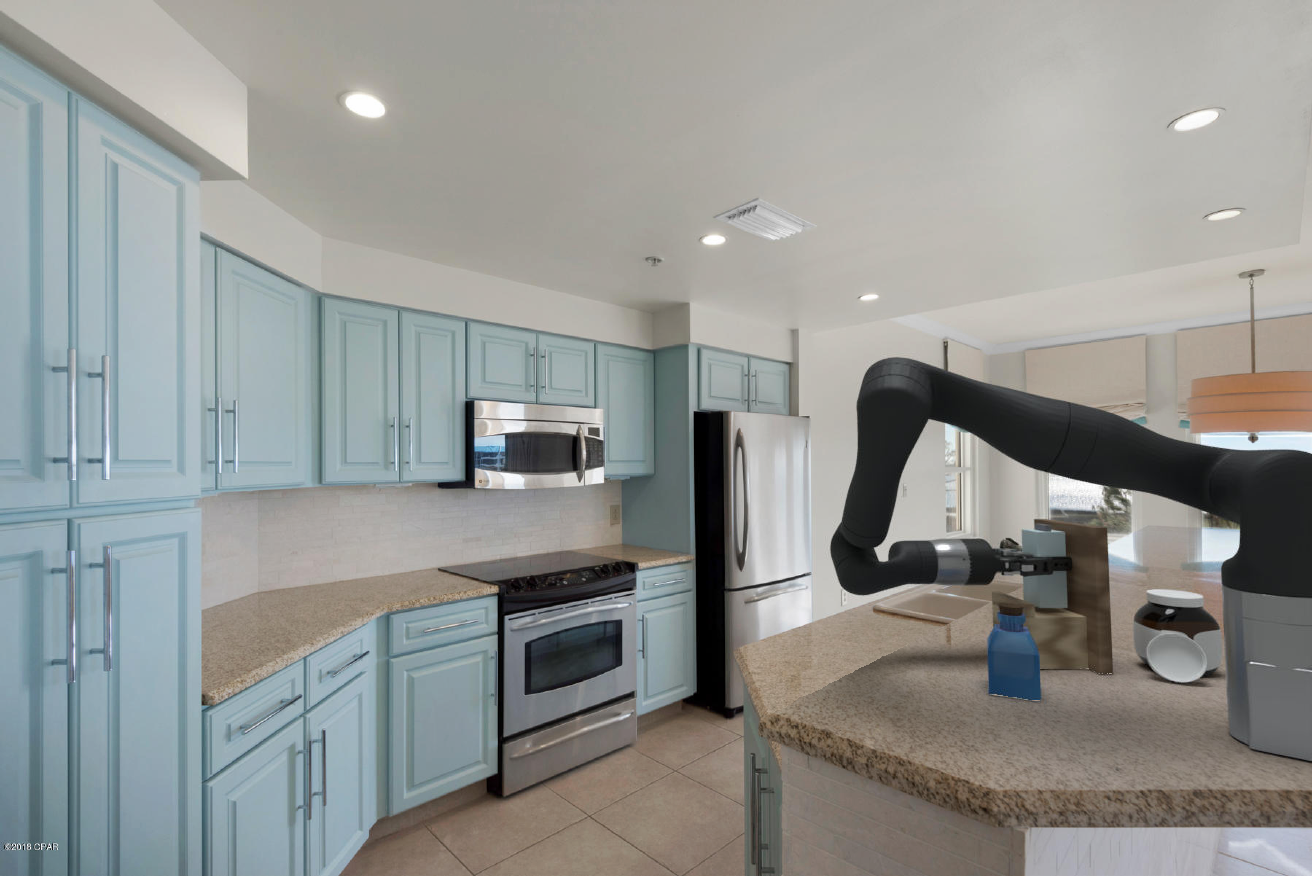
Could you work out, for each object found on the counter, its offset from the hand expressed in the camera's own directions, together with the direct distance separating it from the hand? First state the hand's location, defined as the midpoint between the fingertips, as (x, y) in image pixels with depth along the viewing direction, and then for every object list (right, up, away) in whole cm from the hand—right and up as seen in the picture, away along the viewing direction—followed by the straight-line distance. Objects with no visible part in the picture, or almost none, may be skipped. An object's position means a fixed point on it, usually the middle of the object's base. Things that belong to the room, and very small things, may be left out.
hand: (1060, 561), depth 103 cm
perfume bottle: (-16, -16, -14) cm, 27 cm away
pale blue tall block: (-3, -7, 0) cm, 8 cm away
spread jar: (+13, -16, -8) cm, 22 cm away
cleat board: (-3, -16, -1) cm, 16 cm away
